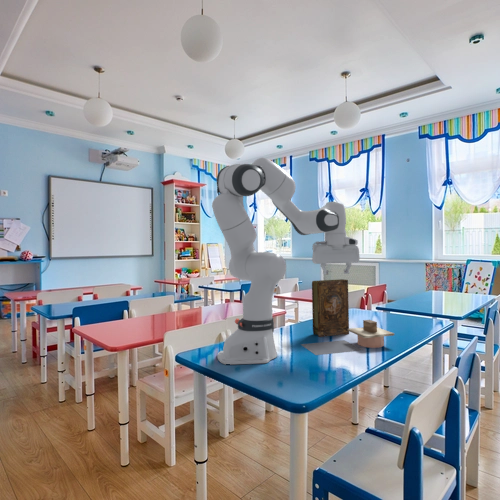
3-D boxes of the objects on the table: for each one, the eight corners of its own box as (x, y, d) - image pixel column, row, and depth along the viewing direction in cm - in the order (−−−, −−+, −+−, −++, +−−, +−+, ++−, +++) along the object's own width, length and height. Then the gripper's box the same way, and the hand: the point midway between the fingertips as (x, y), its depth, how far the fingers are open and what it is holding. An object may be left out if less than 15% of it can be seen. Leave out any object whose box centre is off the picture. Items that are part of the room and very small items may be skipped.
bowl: (366, 349, 135) (366, 336, 135) (353, 343, 144) (352, 331, 144) (389, 347, 137) (388, 334, 137) (374, 341, 147) (374, 329, 147)
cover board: (364, 338, 133) (364, 325, 133) (347, 330, 146) (347, 319, 146) (394, 335, 136) (394, 323, 136) (374, 328, 149) (374, 317, 149)
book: (344, 332, 163) (343, 279, 163) (351, 334, 158) (349, 280, 158) (312, 335, 159) (311, 280, 159) (318, 338, 154) (317, 281, 154)
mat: (315, 356, 128) (315, 355, 128) (300, 345, 143) (300, 344, 143) (364, 351, 133) (364, 350, 133) (344, 341, 147) (344, 340, 147)
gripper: (315, 241, 139) (316, 275, 139) (361, 240, 144) (361, 273, 144) (309, 241, 145) (310, 274, 145) (353, 241, 150) (353, 272, 150)
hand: (336, 274), depth 145 cm, fingers open, 8 cm apart
